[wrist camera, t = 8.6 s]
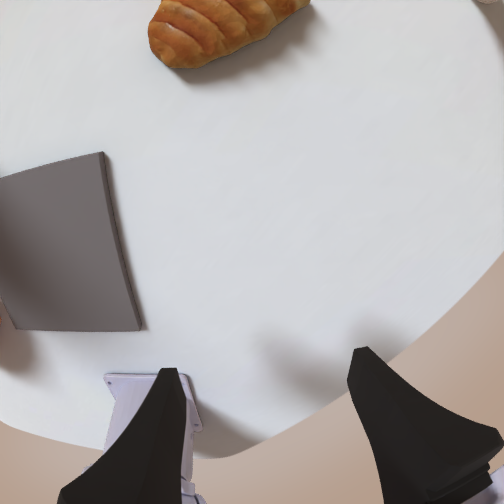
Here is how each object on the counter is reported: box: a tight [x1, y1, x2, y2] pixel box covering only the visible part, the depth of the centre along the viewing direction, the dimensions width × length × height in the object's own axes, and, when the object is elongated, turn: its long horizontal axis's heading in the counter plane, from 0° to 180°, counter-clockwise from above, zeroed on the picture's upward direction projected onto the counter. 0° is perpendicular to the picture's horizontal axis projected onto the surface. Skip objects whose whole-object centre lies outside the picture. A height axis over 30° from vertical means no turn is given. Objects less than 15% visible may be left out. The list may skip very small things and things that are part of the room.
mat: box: [0, 152, 142, 332], centre depth 18 cm, size 13×13×1 cm
